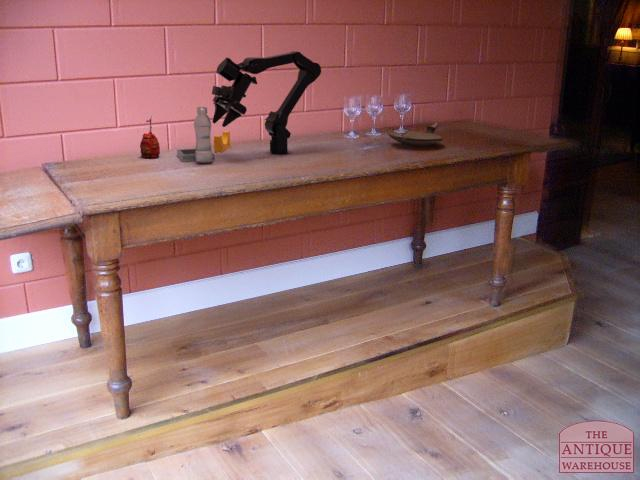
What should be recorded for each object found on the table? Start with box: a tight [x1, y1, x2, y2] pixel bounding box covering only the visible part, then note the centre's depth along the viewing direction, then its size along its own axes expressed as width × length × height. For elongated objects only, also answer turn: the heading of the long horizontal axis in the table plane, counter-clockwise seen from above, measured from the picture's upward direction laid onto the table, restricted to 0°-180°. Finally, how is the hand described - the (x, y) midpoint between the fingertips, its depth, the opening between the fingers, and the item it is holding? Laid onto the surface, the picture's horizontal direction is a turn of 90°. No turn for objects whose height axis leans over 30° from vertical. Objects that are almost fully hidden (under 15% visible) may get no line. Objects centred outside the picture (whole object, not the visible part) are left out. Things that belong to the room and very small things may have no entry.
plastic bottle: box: [193, 106, 214, 164], centre depth 238 cm, size 6×7×20 cm
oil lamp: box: [387, 122, 443, 148], centre depth 279 cm, size 22×30×8 cm
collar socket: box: [176, 148, 216, 163], centre depth 249 cm, size 12×12×2 cm
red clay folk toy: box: [139, 116, 161, 159], centre depth 248 cm, size 8×7×15 cm
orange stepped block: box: [213, 130, 231, 153], centre depth 264 cm, size 12×4×6 cm, turn 169°
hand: (218, 124), depth 244 cm, fingers open, 9 cm apart
